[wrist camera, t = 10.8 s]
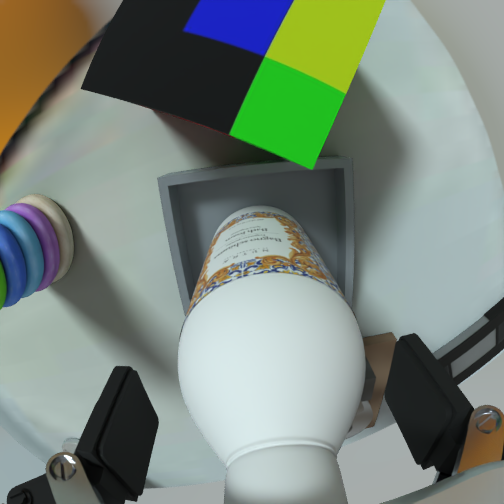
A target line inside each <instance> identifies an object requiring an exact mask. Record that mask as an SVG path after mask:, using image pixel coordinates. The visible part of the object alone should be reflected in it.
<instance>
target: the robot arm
mask: <svg viewBox="0 0 504 504" xmlns="http://www.w3.org/2000/svg"><path fill="white" fill-rule="evenodd" d="M385 399H386V402H387V404H388V406H389V408H390V410H391V412H392V414H393V416H394V418H395V420H396V422H397V424H398V426H399V428H400V430H401V432H402V434H403V437H404V439H405V441H406V443H407V445H408V447H409V449H410V451H411V454H412V456H413V458H414V460H415V462H416V464H418V465H420V464H421V467H422V469H423V470H424V469H427V468H429V467H431V466H435V468H436V471H437V473H436V476H435V479H434V481H433V484H432V485H430V486H428V487H425V488H423V489H420V490H418V491H415V492H412V493H410V494H407V495H404V496H401V497H398V498H396V499H393V500H390V501H387V502H383V503H380V504H504V414H503V413H502V412H501V410H500V409H498V408H496V407H494V406H491V405H483V406H479V407H478V408H476V409H474V408H473V407H472V405H471V404H470V402H469V401H468V400H467V398H466V397H465V395H464V394H463V393H462V391H461V390H460V389H459V387H458V386H457V385H456V383H455V382H454V381H453V379H452V378H451V377H450V375H449V374H448V373H447V371H446V370H445V369H444V367H443V366H442V365H441V364H440V363H439V362H438V360H437V359H436V358H435V357H434V355H433V354H432V353H431V351H430V350H429V349H428V348H427V346H426V345H425V344H424V343H423V341H422V340H421V339H420V338H419V337H418V335H417V334H415V333H413V334H409V335H405V336H401V337H400V338H399V341H397V342H396V343H395V348H394V353H393V357H392V362H391V367H390V371H389V376H388V380H387V384H386V388H385ZM158 424H159V421H158V416H157V414H156V412H155V410H154V408H153V406H152V404H151V402H150V400H149V398H148V395H147V393H146V391H145V389H144V387H143V384H142V382H141V380H140V377H139V375H138V373H137V371H136V370H133V369H132V368H131V367H130V366H116V367H115V368H114V369H113V371H112V373H111V375H110V377H109V379H108V381H107V383H106V385H105V387H104V389H103V392H102V394H101V396H100V398H99V400H98V401H97V403H96V405H95V407H94V409H93V411H92V413H91V416H90V418H89V420H88V422H87V424H86V427H85V429H84V431H83V433H82V436H81V438H80V440H78V439H67V440H65V441H64V443H63V445H62V449H63V451H64V452H60V453H57V454H55V455H53V456H52V457H51V458H50V459H49V460H48V462H47V464H46V474H43V475H41V476H39V477H37V478H34V479H32V480H30V481H27V482H25V483H23V484H20V485H18V486H15V487H14V488H12V489H11V490H10V491H9V493H8V496H7V504H124V503H125V500H130V501H135V502H137V499H138V496H140V495H142V493H143V489H144V485H145V480H146V476H147V471H148V467H149V462H150V458H151V454H152V450H153V445H154V441H155V437H156V433H157V429H158ZM2 504H4V503H2Z"/></svg>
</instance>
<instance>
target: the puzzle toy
mask: <svg viewBox="0 0 504 504" xmlns="http://www.w3.org/2000/svg"><path fill="white" fill-rule="evenodd" d="M385 1H386V0H123V2H122V3H121V5H120V7H119V8H118V10H117V12H116V14H115V15H114V17H113V19H112V21H111V23H110V25H109V27H108V28H107V30H106V32H105V34H104V36H103V38H102V40H101V42H100V45H99V47H98V49H97V51H96V53H95V55H94V58H93V60H92V62H91V64H90V67H89V69H88V72H87V74H86V76H85V79H84V81H83V84H82V87H81V89H83V90H87V91H91V92H95V93H98V94H102V95H106V96H109V97H113V98H117V99H120V100H123V101H127V102H130V103H133V104H137V105H140V106H143V107H146V108H149V109H153V110H156V111H159V112H162V113H165V114H168V115H172V116H175V117H178V118H181V119H184V120H187V121H189V122H192V123H195V124H198V125H201V126H204V127H206V128H209V129H212V130H215V131H217V132H220V133H223V134H225V135H228V136H230V137H233V138H236V139H238V140H241V141H243V142H246V143H248V144H251V145H253V146H255V147H258V148H260V149H263V150H265V151H267V152H270V153H272V154H274V155H277V156H279V157H281V158H284V159H286V160H289V161H291V162H294V163H296V164H299V165H301V166H304V167H306V168H308V169H311V170H312V169H313V167H314V165H315V163H316V160H317V158H318V156H319V154H320V152H321V149H322V147H323V145H324V143H325V140H326V138H327V136H328V134H329V132H330V129H331V127H332V125H333V123H334V120H335V118H336V116H337V113H338V111H339V109H340V107H341V104H342V102H343V100H344V98H345V95H346V93H347V91H348V88H349V86H350V84H351V81H352V79H353V77H354V75H355V72H356V70H357V68H358V65H359V63H360V61H361V58H362V56H363V54H364V51H365V49H366V46H367V44H368V42H369V39H370V37H371V35H372V32H373V30H374V27H375V25H376V23H377V20H378V18H379V15H380V13H381V10H382V8H383V6H384V3H385Z"/></svg>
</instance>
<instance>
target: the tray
mask: <svg viewBox="0 0 504 504" xmlns="http://www.w3.org/2000/svg"><path fill="white" fill-rule="evenodd" d="M157 179H158V185H159V192H160V198H161V204H162V209H163V215H164V221H165V226H166V231H167V236H168V242H169V247H170V251H171V256H172V261H173V266H174V270H175V275H176V279H177V284H178V288H179V293H180V297H181V301H182V305H183V309H184V313H185V317H186V314H187V311H188V308H189V305H190V302H191V299H192V297H193V294H194V291H195V288H196V285H197V282H198V279H199V276H200V273H201V270H202V267H203V265H204V262H205V259H206V256H207V253H208V251H209V248H210V245H211V243H212V240H213V238H214V235H215V233H216V231H217V229H218V228H219V226H220V225H221V224H222V222H223V221H224V220H225V219H226V218H228V217H229V216H230V215H231V214H233V213H235V212H236V211H238V210H241V209H243V208H246V207H250V206H259V205H262V206H271V207H275V208H278V209H280V210H282V211H284V212H286V213H288V214H289V215H291V216H292V217H293V218H294V219H295V220H296V221H297V222H298V223H299V224H300V225H301V227H302V228H303V230H304V231H305V233H306V234H307V236H308V237H309V239H310V240H311V242H312V244H313V245H314V247H315V248H316V250H317V252H318V253H319V255H320V257H321V258H322V260H323V262H324V263H325V265H326V266H327V268H328V270H329V271H330V273H331V275H332V276H333V278H334V280H335V281H336V283H337V285H338V286H339V288H340V290H341V292H342V293H343V295H344V297H345V298H346V300H347V302H348V304H349V305H350V307H351V309H352V297H353V276H354V182H353V162H352V158H348V157H342V156H328V157H318V158H317V160H316V163H315V165H314V167H313V169H312V170H311V169H308V168H306V167H304V166H301V165H299V164H296V163H294V162H291V161H289V160H286V159H281V160H270V161H259V162H249V163H240V164H231V165H223V166H215V167H208V168H201V169H194V170H187V171H181V172H174V173H168V174H166V175H164V176H161V177H159V178H157Z"/></svg>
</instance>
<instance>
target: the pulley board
mask: <svg viewBox="0 0 504 504" xmlns="http://www.w3.org/2000/svg"><path fill="white" fill-rule="evenodd" d="M362 339H363V344H364V350H365V361H366V371H365V382H364V388H363V393H362V396H361V400H360V403H359V406H358V409H357V412H356V415H355V417H354V420H353V422H352V424H351V427H350V429H349V431H348V433H347V435H346V438H345V439H347V438H350V437H352V436H354V435H356V434H358V433H359V432H361V431H362V430H364V429H365V428H369V427H373V426H374V425H375V422H376V419H377V416H378V412H379V409H380V406H381V402H382V399H383V395H384V391H385V388H386V384H387V380H388V376H389V371H390V367H391V362H392V357H393V353H394V348H395V343H396V340H397V339H396V338H395V336H394V335H393V333H392V332H390V333H385V334H380V335H375V336H370V337H365V338H362Z"/></svg>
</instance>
